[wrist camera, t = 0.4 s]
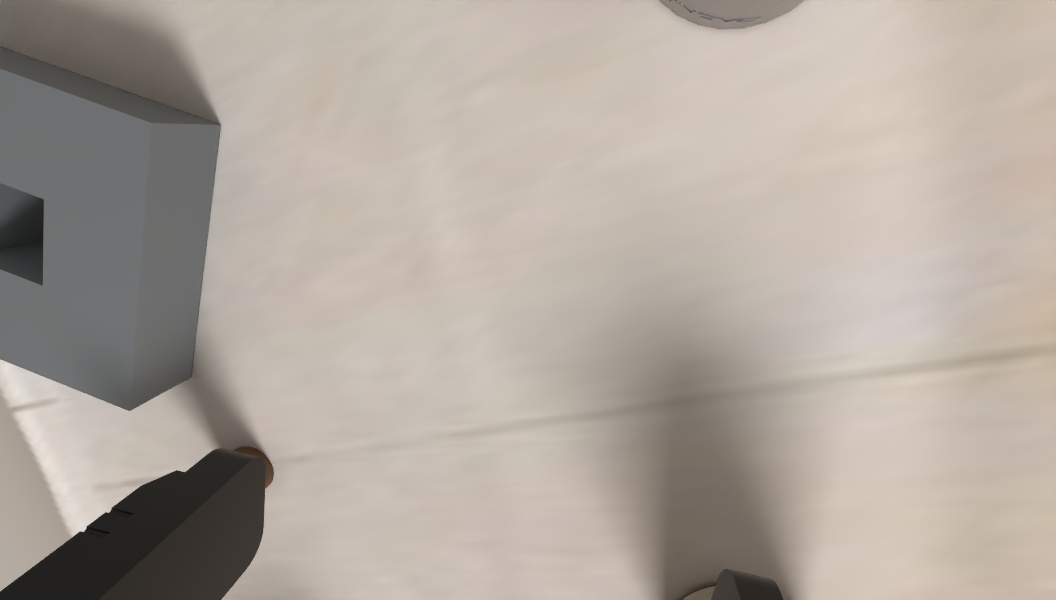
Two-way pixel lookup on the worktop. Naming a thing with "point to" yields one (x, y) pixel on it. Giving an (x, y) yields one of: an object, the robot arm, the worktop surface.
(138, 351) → the hole block
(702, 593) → the travel mug
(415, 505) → the worktop surface
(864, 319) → the worktop surface
